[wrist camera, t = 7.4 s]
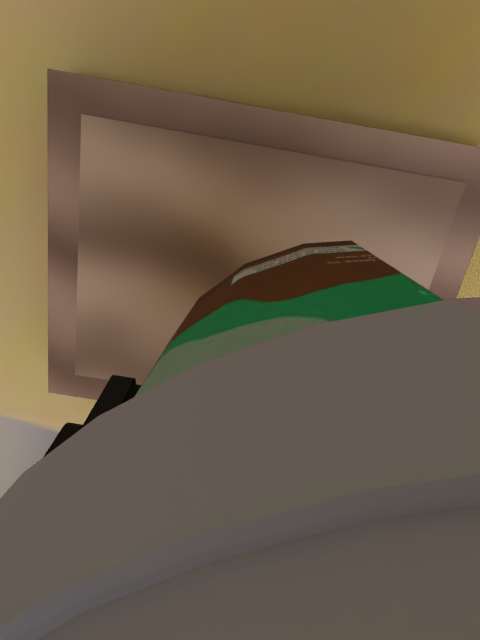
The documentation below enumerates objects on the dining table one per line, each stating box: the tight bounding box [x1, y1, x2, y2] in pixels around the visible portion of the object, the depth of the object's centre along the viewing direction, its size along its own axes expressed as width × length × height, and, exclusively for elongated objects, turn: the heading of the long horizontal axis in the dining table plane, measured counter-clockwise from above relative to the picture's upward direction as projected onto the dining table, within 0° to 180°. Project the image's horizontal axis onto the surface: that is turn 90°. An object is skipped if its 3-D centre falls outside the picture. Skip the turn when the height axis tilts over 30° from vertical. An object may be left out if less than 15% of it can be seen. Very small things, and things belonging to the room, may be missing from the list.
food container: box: [0, 240, 480, 640], centre depth 8 cm, size 12×6×10 cm, turn 179°
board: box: [48, 69, 480, 400], centre depth 24 cm, size 16×20×3 cm
